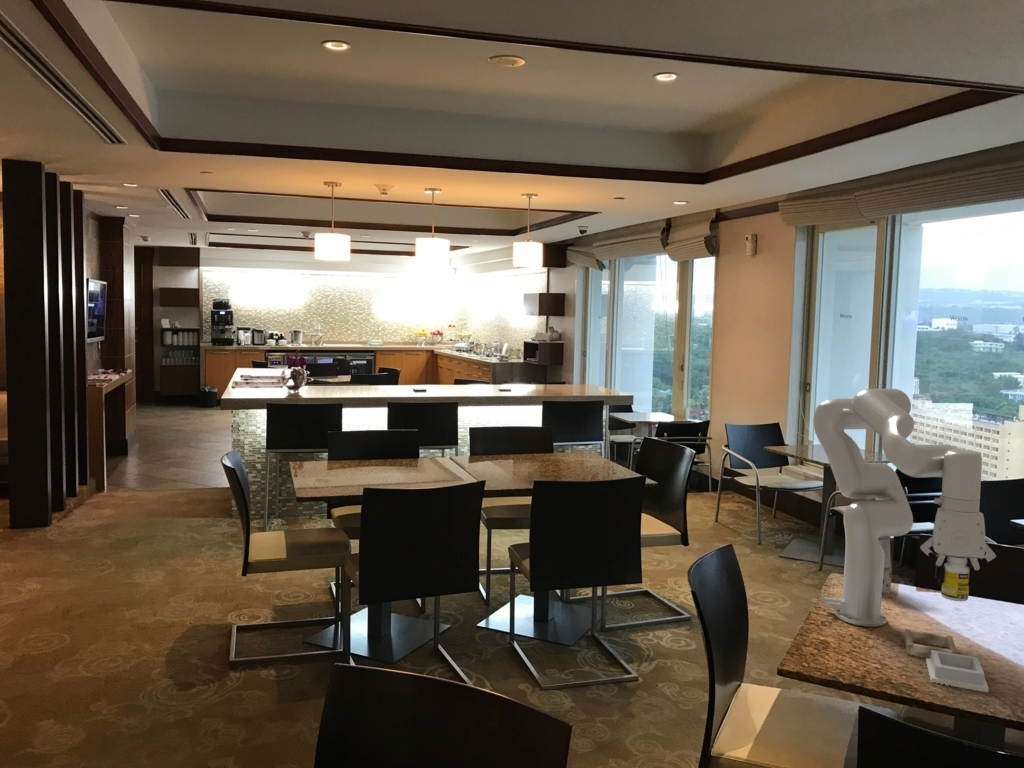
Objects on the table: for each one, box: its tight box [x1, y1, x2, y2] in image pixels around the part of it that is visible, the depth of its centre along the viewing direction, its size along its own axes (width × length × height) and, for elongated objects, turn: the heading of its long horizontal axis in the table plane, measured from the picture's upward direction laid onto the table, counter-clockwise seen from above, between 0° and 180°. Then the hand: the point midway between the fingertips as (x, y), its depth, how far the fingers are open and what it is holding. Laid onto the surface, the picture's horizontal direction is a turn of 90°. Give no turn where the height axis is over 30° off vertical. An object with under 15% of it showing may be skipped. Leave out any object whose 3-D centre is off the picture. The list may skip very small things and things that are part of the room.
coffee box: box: [878, 536, 895, 594], centre depth 236 cm, size 9×6×16 cm
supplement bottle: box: [940, 555, 970, 603], centre depth 182 cm, size 5×5×10 cm
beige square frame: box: [903, 628, 959, 659], centre depth 193 cm, size 10×10×2 cm
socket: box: [925, 650, 989, 693], centre depth 179 cm, size 11×11×4 cm
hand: (955, 583), depth 182 cm, fingers closed on supplement bottle, 5 cm apart
